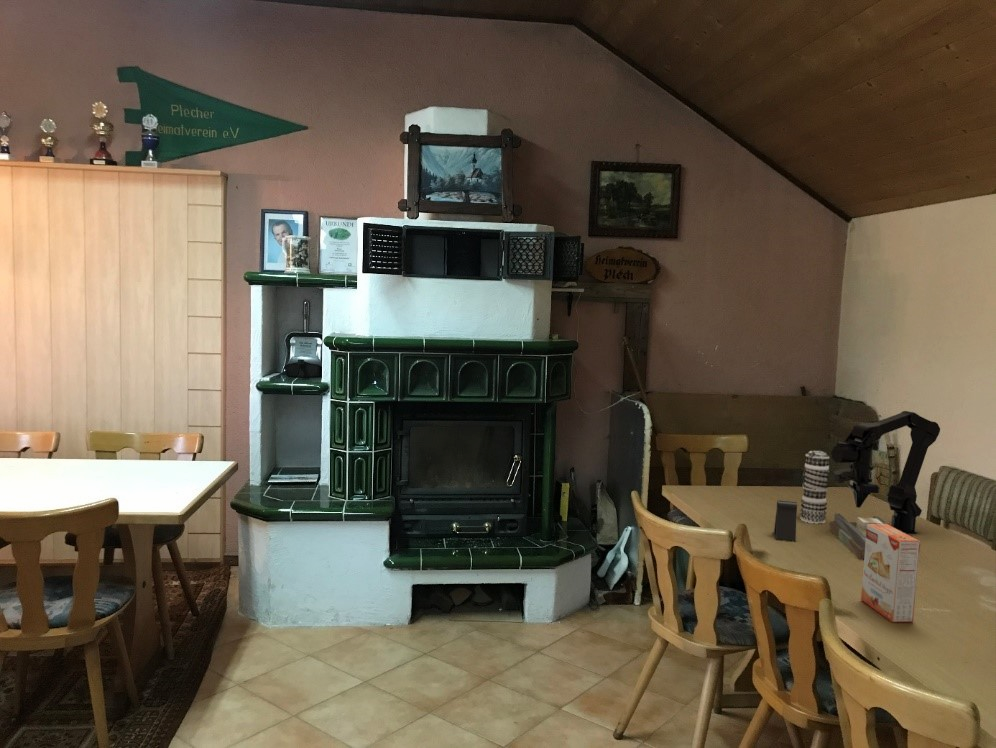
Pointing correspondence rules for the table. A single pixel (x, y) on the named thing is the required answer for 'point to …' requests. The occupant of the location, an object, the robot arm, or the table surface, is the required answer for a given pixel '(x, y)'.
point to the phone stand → (785, 521)
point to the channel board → (850, 534)
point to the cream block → (865, 524)
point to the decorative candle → (815, 487)
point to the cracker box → (890, 572)
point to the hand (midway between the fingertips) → (858, 507)
